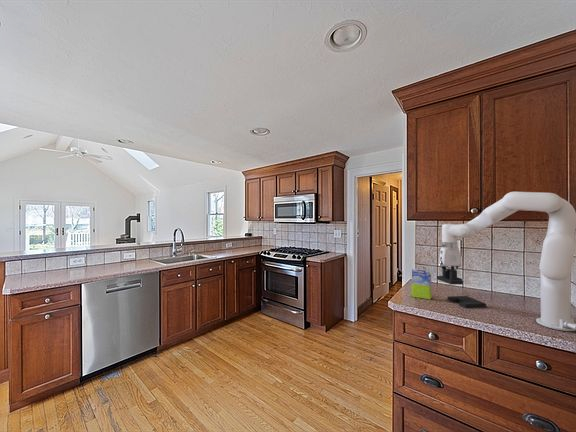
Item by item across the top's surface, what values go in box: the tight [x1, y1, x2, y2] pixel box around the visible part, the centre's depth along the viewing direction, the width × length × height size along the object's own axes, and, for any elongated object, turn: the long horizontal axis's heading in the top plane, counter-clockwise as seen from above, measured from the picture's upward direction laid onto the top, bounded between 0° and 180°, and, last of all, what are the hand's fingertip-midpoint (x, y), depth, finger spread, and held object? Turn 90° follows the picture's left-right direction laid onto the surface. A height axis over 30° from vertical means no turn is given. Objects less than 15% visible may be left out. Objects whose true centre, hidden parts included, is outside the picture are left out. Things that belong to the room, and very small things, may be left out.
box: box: [411, 268, 432, 301], centre depth 158 cm, size 10×4×17 cm, turn 54°
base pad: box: [447, 295, 487, 309], centre depth 147 cm, size 14×12×2 cm
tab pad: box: [436, 267, 464, 285], centre depth 147 cm, size 12×10×7 cm
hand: (449, 277), depth 147 cm, fingers closed on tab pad, 3 cm apart
